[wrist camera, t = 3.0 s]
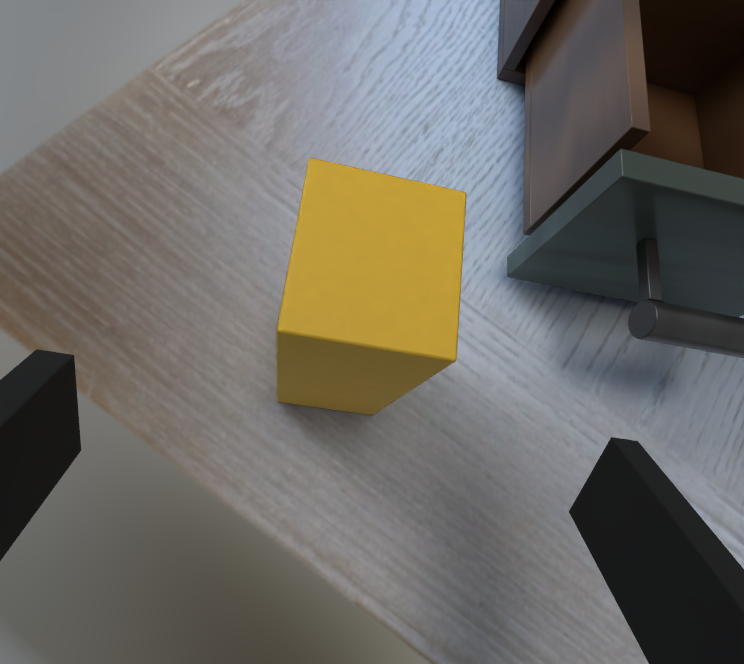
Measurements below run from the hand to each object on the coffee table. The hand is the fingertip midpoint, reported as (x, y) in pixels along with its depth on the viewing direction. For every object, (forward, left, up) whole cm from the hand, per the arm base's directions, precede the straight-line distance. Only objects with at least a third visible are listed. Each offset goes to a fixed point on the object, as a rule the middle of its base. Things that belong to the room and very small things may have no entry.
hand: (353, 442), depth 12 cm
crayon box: (0, +5, -10) cm, 11 cm away
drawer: (+15, +16, -9) cm, 24 cm away
